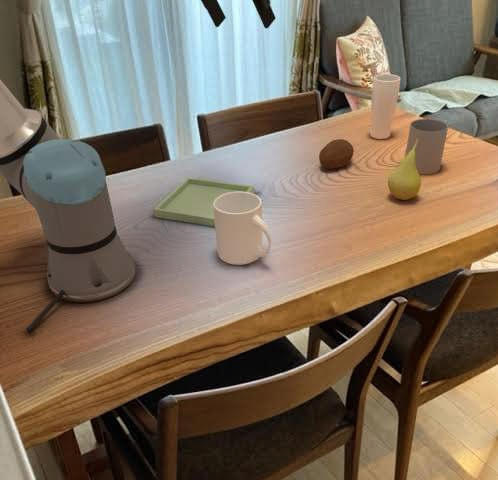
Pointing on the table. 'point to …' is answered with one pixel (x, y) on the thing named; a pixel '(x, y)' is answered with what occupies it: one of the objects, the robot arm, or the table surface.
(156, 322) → the table surface
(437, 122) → the cup
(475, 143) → the table surface
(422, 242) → the table surface
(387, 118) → the drinking glass
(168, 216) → the tray
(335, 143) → the potato
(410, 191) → the fruit
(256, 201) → the mug
